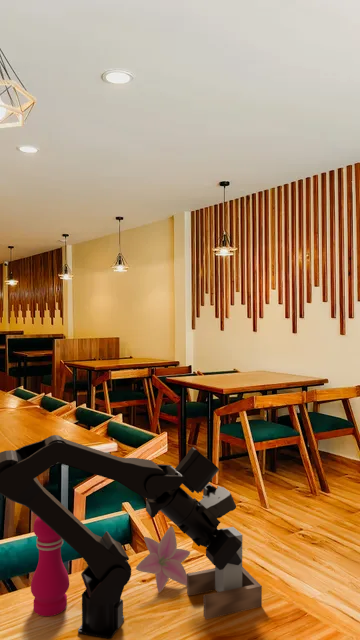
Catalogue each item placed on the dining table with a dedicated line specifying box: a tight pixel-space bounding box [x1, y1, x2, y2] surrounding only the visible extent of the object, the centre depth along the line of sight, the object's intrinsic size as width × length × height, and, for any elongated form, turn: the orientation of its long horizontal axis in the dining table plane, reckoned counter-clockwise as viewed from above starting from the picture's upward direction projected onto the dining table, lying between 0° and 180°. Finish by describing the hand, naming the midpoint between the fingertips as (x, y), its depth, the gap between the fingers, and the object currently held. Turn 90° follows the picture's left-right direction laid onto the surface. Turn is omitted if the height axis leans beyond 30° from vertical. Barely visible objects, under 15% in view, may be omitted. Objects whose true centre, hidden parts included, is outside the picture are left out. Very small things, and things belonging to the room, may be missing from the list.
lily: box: [135, 526, 191, 593], centre depth 111 cm, size 12×12×10 cm
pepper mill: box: [30, 516, 70, 617], centre depth 101 cm, size 7×7×20 cm
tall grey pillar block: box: [214, 526, 243, 593], centre depth 104 cm, size 4×4×12 cm
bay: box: [186, 566, 263, 620], centre depth 104 cm, size 12×10×4 cm
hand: (235, 557), depth 104 cm, fingers closed on tall grey pillar block, 4 cm apart
